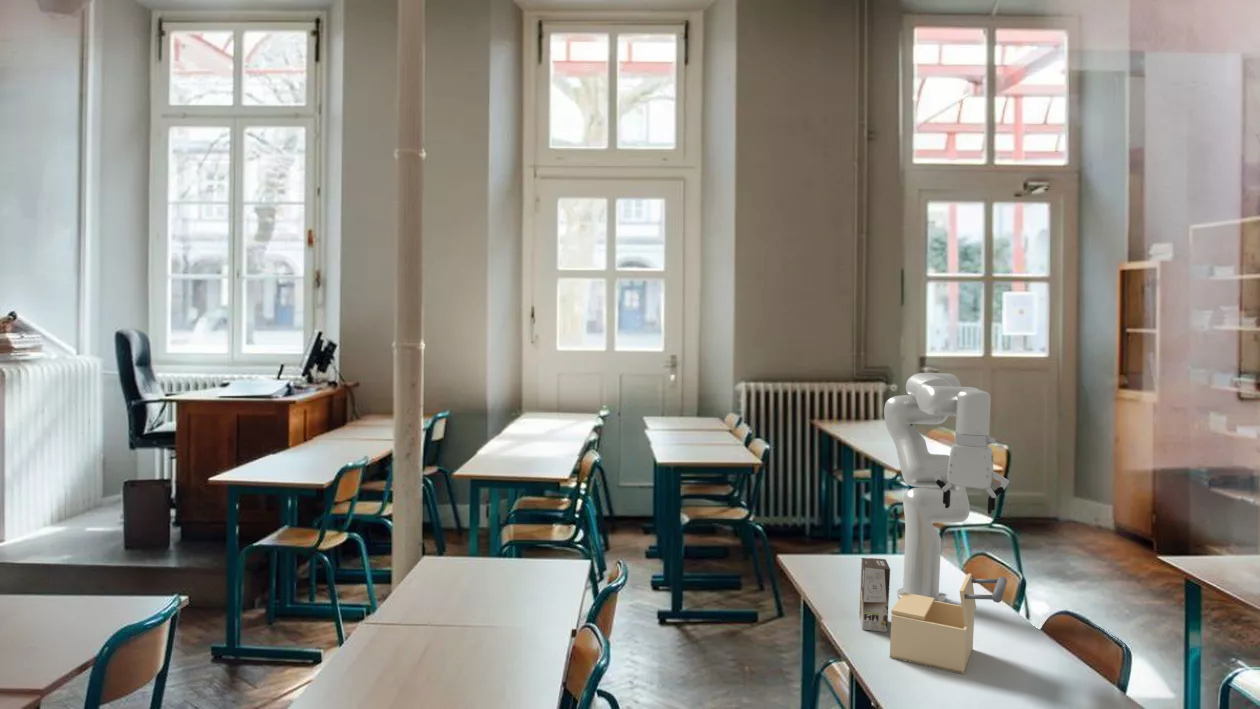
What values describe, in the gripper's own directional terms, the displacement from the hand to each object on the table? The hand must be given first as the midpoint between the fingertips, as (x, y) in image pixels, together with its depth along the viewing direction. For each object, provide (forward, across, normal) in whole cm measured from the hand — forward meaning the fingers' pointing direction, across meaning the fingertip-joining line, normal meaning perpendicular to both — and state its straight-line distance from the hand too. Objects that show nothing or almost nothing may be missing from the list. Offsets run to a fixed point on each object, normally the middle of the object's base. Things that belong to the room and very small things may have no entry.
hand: (968, 509), depth 194 cm
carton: (+32, +5, +14) cm, 35 cm away
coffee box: (+32, +21, +3) cm, 39 cm away
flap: (+18, -2, +13) cm, 22 cm away
